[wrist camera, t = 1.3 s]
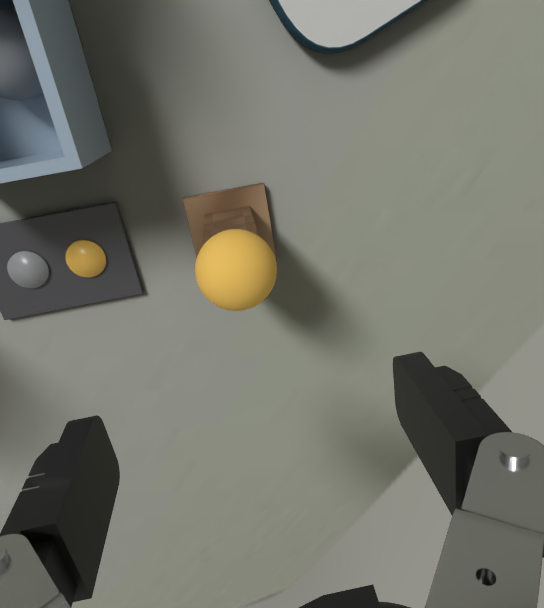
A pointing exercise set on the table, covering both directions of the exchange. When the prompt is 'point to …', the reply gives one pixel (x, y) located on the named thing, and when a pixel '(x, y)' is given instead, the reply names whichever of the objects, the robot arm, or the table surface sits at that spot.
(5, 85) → the ball grey
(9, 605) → the robot arm
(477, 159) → the table surface
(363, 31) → the white rounded slab
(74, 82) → the blue open box
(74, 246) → the card
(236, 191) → the brown square ball stand
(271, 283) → the ball amber
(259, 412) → the table surface
